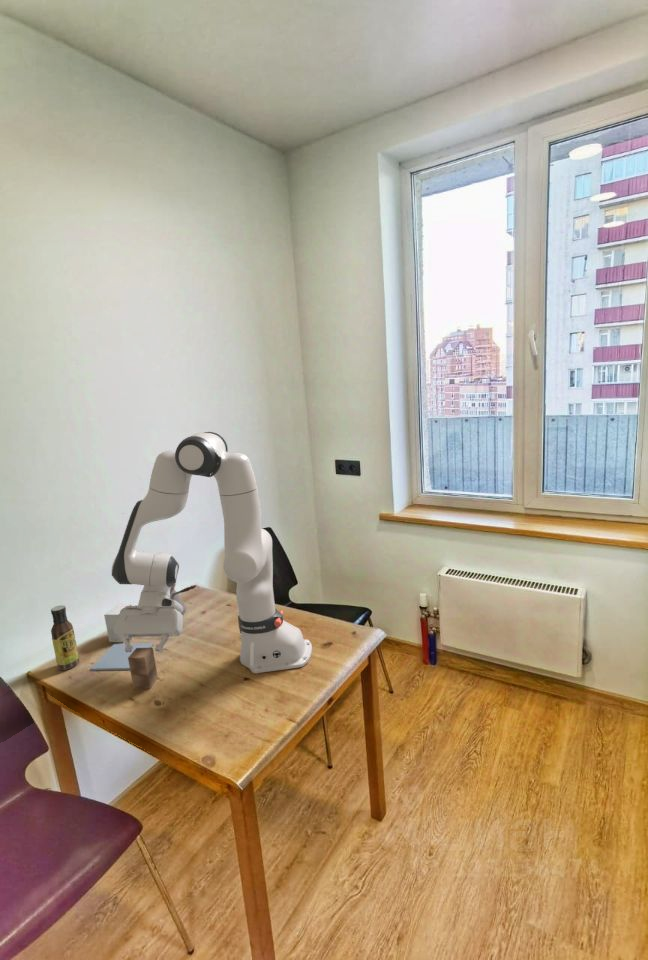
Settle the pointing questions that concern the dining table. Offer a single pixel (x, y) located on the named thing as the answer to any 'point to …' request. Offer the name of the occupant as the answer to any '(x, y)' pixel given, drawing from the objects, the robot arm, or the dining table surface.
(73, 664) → the sauce bottle
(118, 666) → the slate board
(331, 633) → the dining table surface
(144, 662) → the walnut block
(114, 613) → the small box
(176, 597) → the coffee pot
